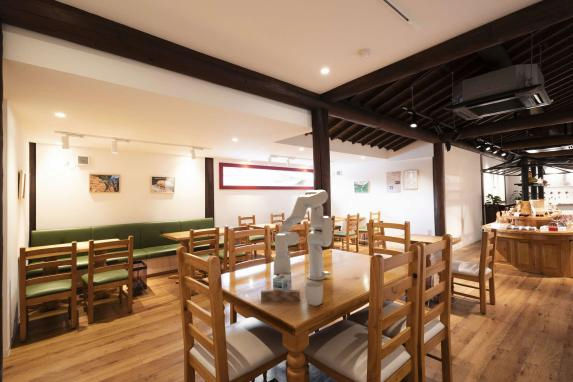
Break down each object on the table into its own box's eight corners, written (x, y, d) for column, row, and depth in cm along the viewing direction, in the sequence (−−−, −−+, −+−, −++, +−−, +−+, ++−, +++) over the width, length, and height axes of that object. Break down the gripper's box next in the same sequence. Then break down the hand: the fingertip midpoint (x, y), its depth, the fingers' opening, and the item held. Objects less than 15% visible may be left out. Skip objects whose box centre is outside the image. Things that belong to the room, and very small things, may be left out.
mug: (320, 307, 135) (319, 288, 135) (303, 305, 139) (303, 286, 139) (327, 298, 147) (326, 280, 147) (311, 296, 150) (310, 278, 150)
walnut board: (299, 299, 146) (299, 290, 147) (299, 301, 144) (299, 291, 144) (261, 299, 148) (261, 290, 148) (261, 301, 146) (260, 291, 146)
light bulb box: (283, 299, 147) (282, 279, 147) (272, 297, 150) (272, 278, 150) (292, 293, 156) (291, 274, 157) (282, 291, 160) (281, 273, 160)
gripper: (294, 252, 164) (295, 282, 164) (270, 252, 165) (271, 282, 165) (293, 255, 157) (294, 286, 156) (268, 255, 158) (269, 286, 158)
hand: (282, 284), depth 161 cm, fingers closed
